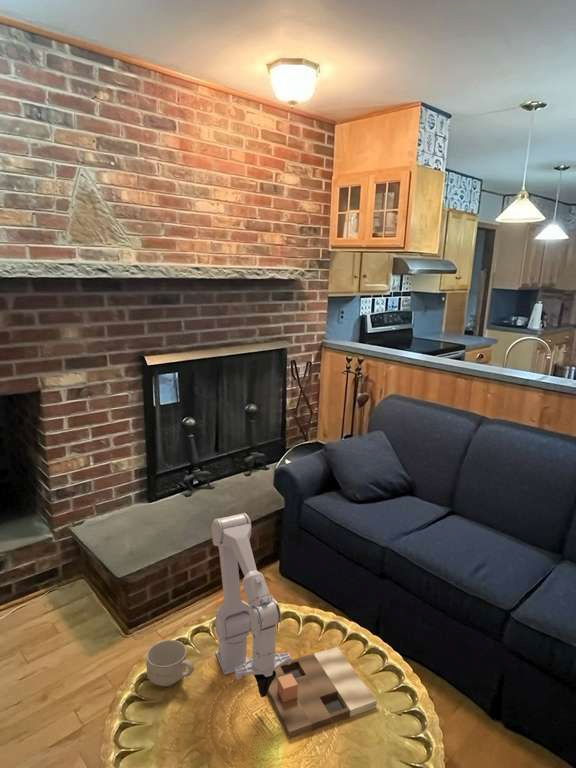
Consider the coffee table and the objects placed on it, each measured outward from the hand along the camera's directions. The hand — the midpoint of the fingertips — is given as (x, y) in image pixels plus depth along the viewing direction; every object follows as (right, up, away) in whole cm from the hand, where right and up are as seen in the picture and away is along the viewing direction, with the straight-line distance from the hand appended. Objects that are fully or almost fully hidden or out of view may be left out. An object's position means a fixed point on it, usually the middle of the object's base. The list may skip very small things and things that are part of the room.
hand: (262, 693), depth 126 cm
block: (+6, -2, +3) cm, 7 cm away
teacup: (-26, -2, +9) cm, 27 cm away
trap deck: (+14, -4, +7) cm, 16 cm away
